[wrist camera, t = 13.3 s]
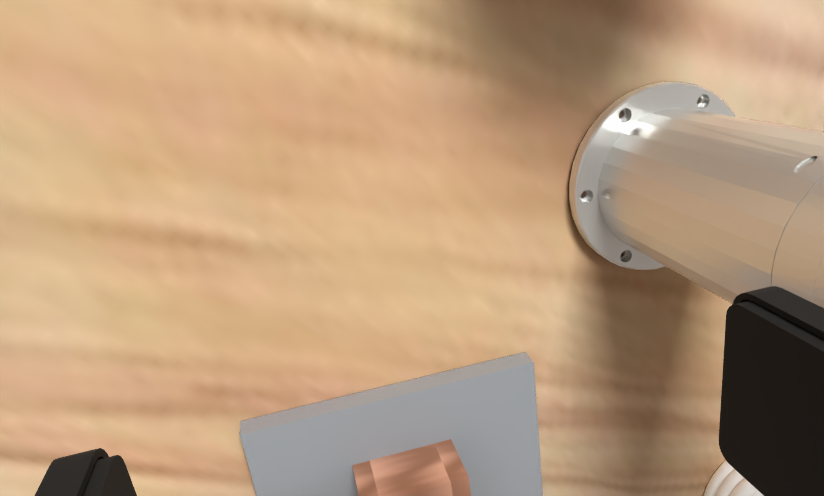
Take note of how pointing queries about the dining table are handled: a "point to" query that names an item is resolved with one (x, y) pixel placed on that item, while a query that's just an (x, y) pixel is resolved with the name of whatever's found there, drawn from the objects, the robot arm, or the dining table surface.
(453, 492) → the wooden loop
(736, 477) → the coaster
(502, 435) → the hook board
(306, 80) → the dining table surface
